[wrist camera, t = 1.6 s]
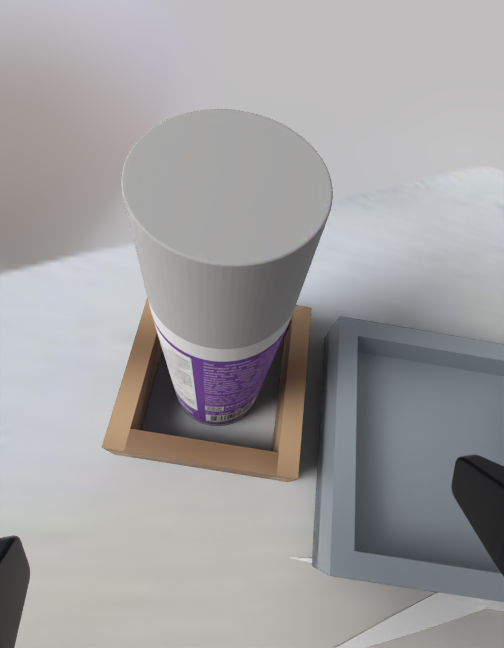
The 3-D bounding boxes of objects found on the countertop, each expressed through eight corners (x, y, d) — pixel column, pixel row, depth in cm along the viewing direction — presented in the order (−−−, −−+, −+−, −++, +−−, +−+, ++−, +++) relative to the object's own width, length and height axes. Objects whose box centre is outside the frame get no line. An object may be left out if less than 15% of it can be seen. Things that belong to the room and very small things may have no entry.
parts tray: (554, 602, 18) (613, 618, 16) (312, 565, 18) (329, 575, 15) (512, 370, 24) (551, 352, 21) (325, 338, 23) (339, 316, 21)
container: (267, 358, 22) (353, 135, 9) (246, 437, 20) (317, 301, 7) (191, 336, 22) (164, 83, 9) (162, 412, 20) (71, 230, 7)
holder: (287, 481, 19) (297, 478, 17) (114, 454, 19) (101, 447, 17) (301, 326, 23) (311, 307, 21) (157, 302, 23) (152, 280, 21)
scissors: (738, 698, 17) (311, 780, 15) (717, 691, 18) (307, 768, 15) (620, 454, 22) (280, 483, 19) (607, 455, 22) (277, 484, 20)
